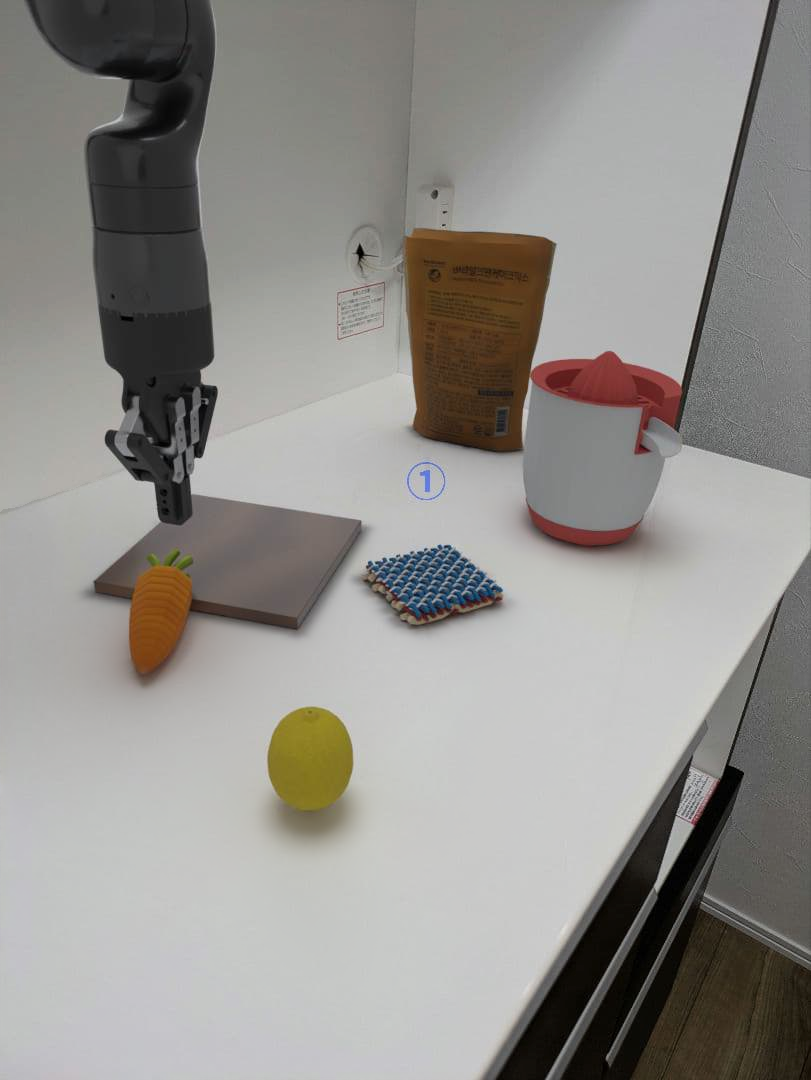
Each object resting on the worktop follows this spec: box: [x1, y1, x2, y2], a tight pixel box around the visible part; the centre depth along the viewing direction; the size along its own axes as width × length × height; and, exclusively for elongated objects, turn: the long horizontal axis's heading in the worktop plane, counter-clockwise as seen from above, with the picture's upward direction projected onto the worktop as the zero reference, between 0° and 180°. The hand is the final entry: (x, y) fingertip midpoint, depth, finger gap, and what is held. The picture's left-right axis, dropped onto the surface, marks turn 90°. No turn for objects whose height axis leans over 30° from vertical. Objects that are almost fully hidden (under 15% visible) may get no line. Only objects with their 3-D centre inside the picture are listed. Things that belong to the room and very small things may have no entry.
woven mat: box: [361, 543, 504, 626], centre depth 80 cm, size 10×11×2 cm
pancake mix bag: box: [401, 227, 558, 453], centre depth 109 cm, size 7×19×28 cm, turn 67°
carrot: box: [128, 550, 193, 675], centre depth 71 cm, size 5×5×15 cm
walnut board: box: [93, 493, 363, 630], centre depth 84 cm, size 20×20×1 cm
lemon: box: [266, 706, 354, 812], centre depth 54 cm, size 6×6×8 cm
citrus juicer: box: [522, 350, 683, 547], centre depth 89 cm, size 16×17×20 cm
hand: (175, 520), depth 65 cm, fingers closed
